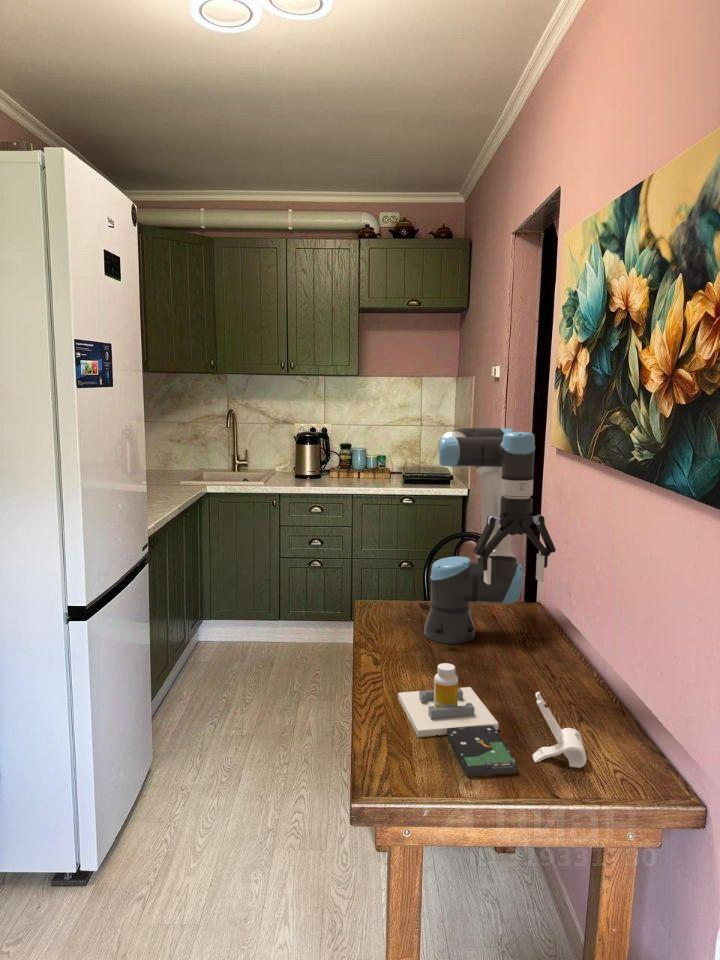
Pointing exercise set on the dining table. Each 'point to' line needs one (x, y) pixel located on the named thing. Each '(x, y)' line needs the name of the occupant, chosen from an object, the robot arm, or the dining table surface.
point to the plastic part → (561, 740)
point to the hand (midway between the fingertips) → (513, 581)
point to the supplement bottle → (445, 686)
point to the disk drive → (481, 751)
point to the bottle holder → (444, 712)
